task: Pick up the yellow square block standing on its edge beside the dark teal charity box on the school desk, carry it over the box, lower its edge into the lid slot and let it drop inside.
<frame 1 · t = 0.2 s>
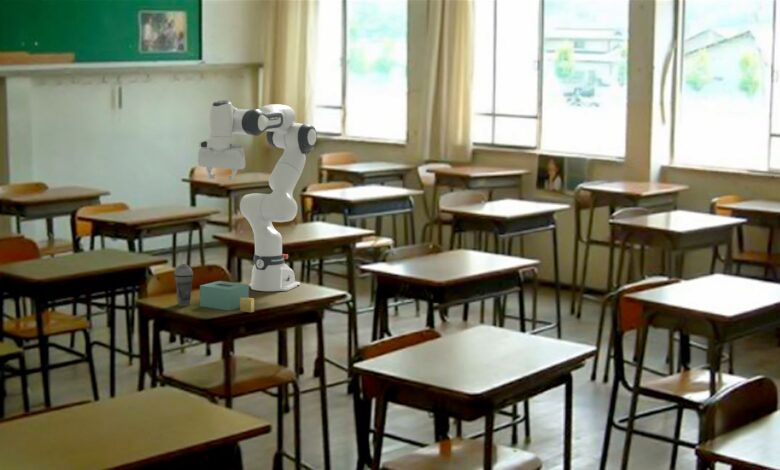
hand: (221, 179, 462), 47 cm above the table, fingers open, 8 cm apart
beverage cup: (183, 305, 462), on the table
yellow square block: (247, 311, 452), on the table
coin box: (224, 305, 461), on the table
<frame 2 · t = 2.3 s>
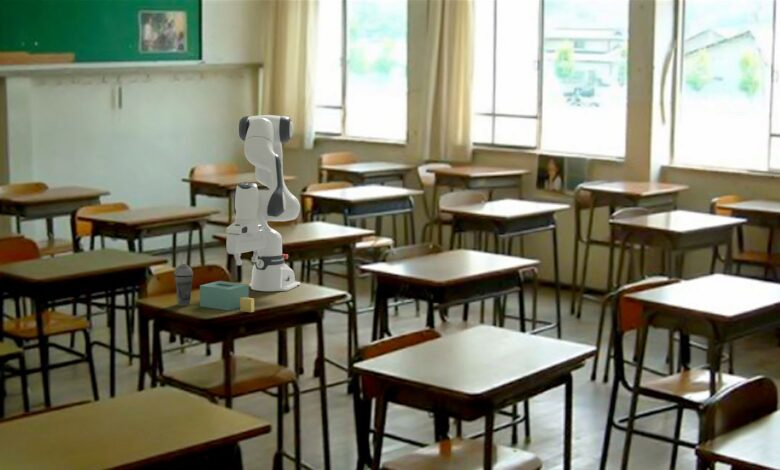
hand: (246, 263, 449), 18 cm above the table, fingers open, 8 cm apart
nothing on the table moved.
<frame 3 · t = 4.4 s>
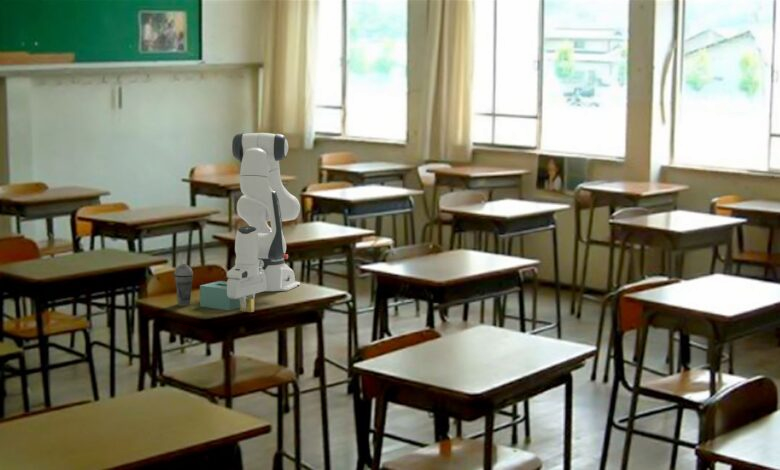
hand: (247, 306, 451), 2 cm above the table, fingers closed on yellow square block, 2 cm apart
yellow square block: (247, 311, 452), on the table, touching gripper
everything else where it was.
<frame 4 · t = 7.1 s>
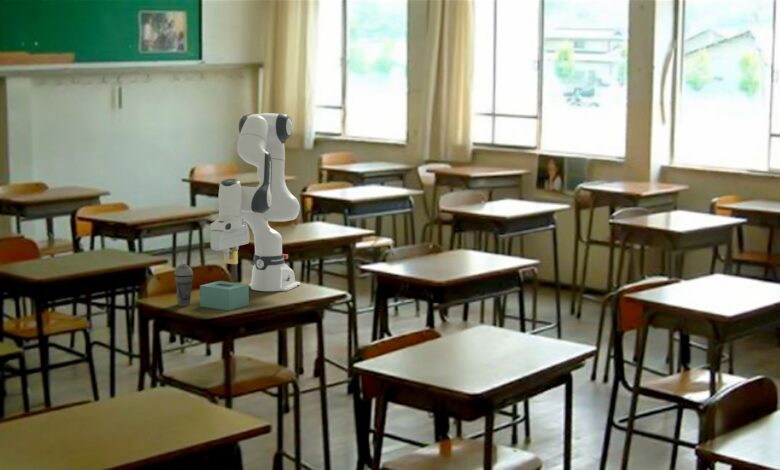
hand: (230, 258, 456), 18 cm above the table, fingers closed on yellow square block
yellow square block: (230, 263, 456), point 17 cm above the table, touching gripper
everything else where it was.
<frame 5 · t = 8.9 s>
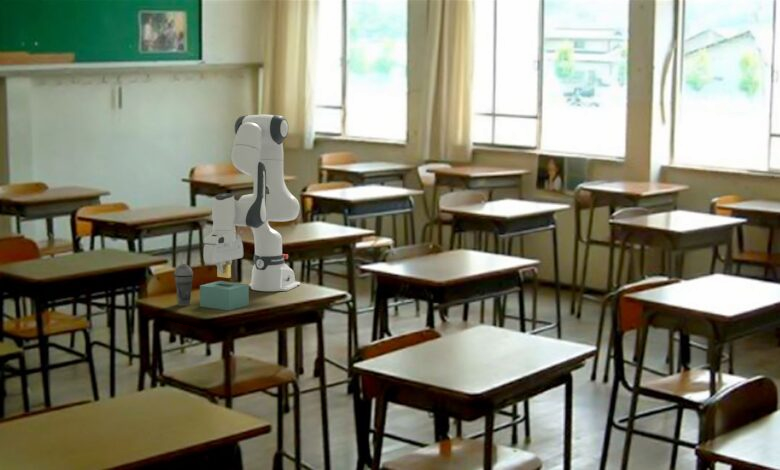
hand: (224, 272, 459), 13 cm above the table, fingers closed on yellow square block
yellow square block: (224, 276, 459), point 11 cm above the table, touching gripper
everything else where it was.
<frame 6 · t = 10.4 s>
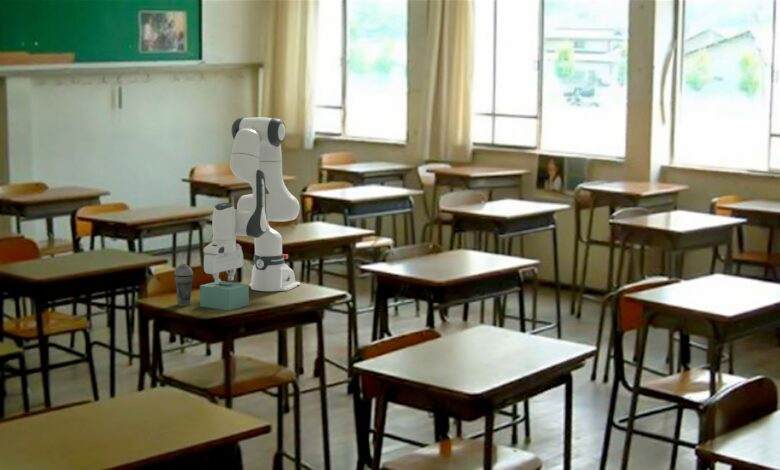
hand: (224, 282, 459), 9 cm above the table, fingers open, 7 cm apart
yellow square block: (224, 305, 461), resting in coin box
everything else where it was.
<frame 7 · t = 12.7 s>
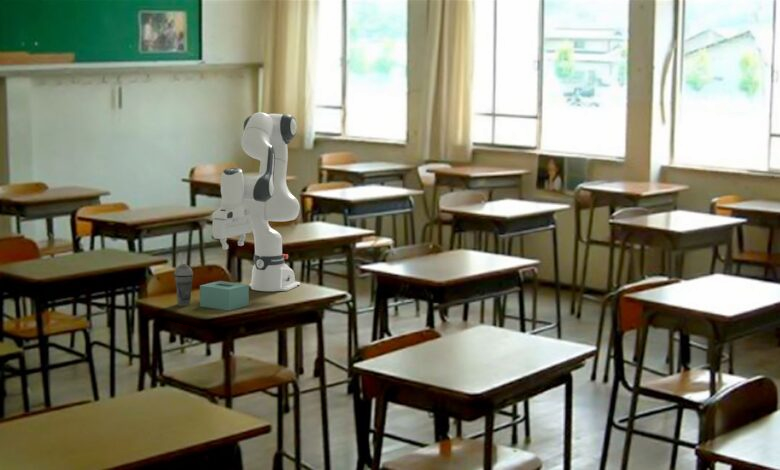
hand: (233, 247, 458), 22 cm above the table, fingers open, 8 cm apart
nothing on the table moved.
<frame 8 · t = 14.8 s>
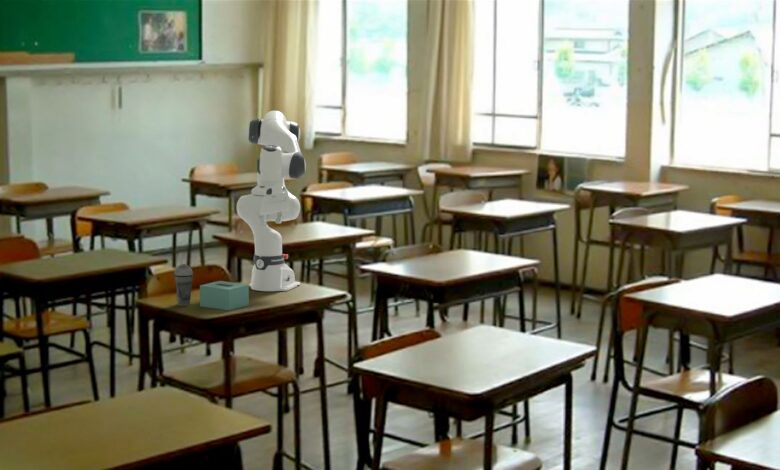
hand: (271, 224, 459), 31 cm above the table, fingers open, 8 cm apart
nothing on the table moved.
at the end: yellow square block inside the target area on the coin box (0.0 cm from its centre), point 0.0 cm above the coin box's base; the gripper is holding nothing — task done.
